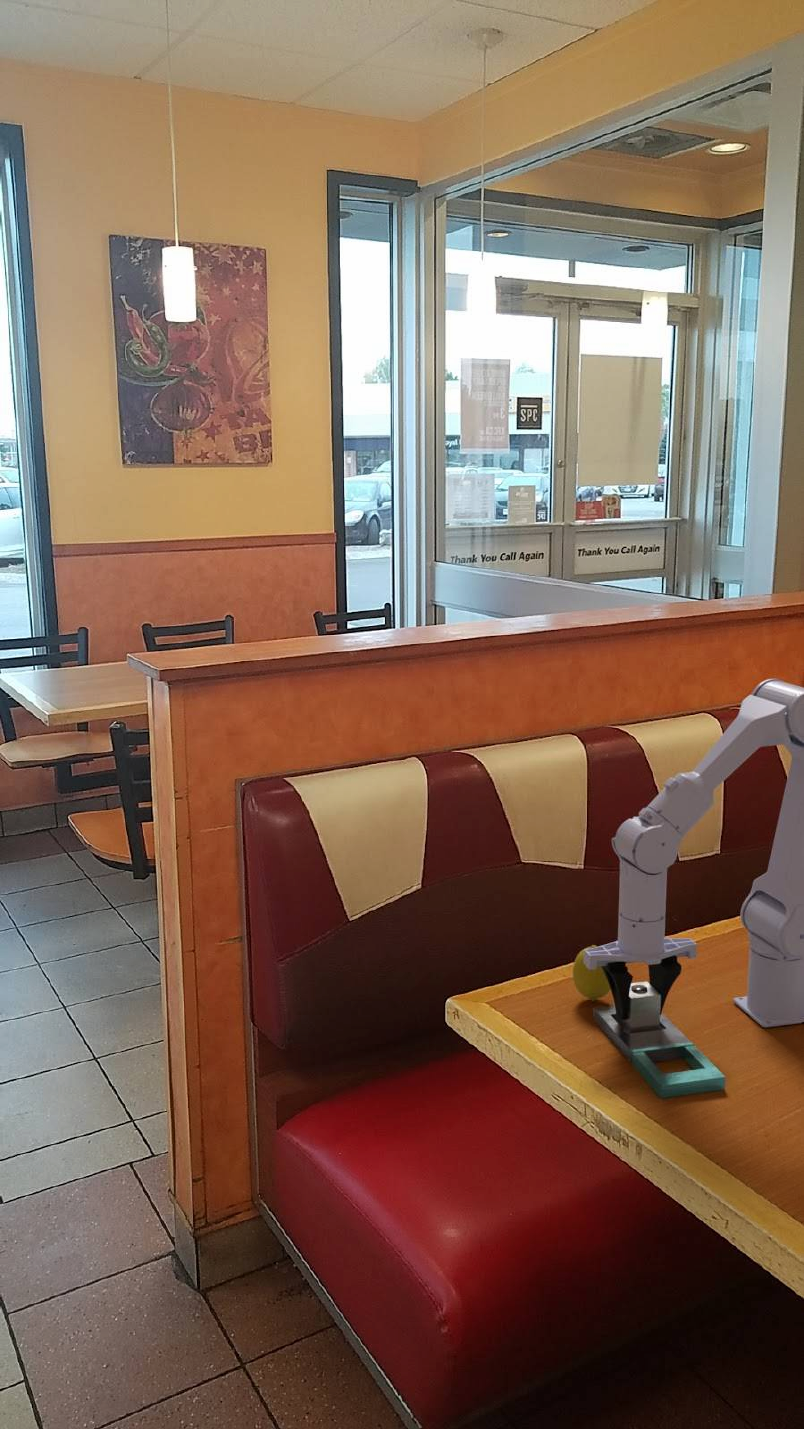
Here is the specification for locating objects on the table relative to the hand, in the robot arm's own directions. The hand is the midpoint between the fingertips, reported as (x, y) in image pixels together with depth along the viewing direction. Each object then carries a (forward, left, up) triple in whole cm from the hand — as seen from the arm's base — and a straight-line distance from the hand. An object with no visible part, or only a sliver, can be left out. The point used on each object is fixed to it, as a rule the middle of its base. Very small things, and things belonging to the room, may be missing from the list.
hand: (638, 1014), depth 144 cm
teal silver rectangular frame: (0, +5, -3) cm, 6 cm away
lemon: (+2, -10, -3) cm, 11 cm away
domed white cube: (0, 0, -3) cm, 3 cm away
